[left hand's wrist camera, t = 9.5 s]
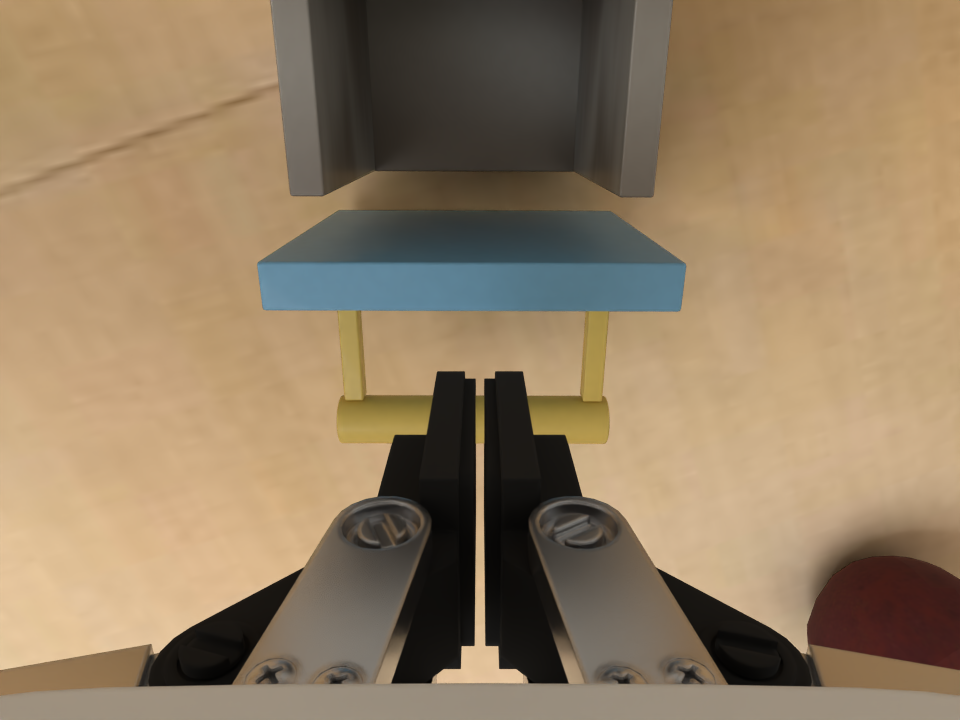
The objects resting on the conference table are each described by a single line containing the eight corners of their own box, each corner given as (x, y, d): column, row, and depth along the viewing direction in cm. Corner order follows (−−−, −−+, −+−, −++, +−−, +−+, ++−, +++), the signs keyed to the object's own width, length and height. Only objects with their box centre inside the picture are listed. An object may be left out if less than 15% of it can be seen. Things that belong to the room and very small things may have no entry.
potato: (970, 585, 30) (1105, 714, 24) (837, 673, 32) (928, 815, 26) (881, 497, 28) (1002, 610, 22) (747, 597, 31) (820, 728, 24)
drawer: (599, 374, 26) (658, 501, 17) (350, 373, 26) (286, 500, 17) (654, -341, 18) (814, -762, 9) (295, -342, 18) (125, -768, 9)
